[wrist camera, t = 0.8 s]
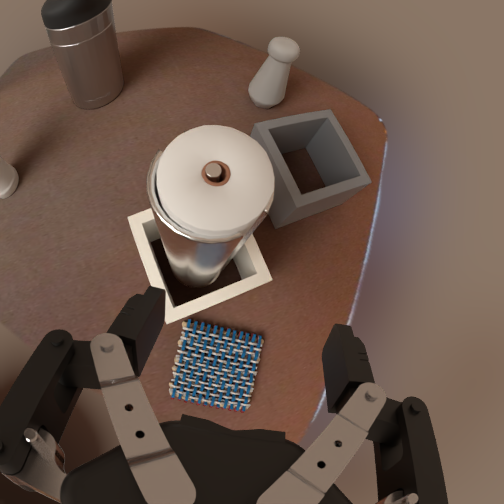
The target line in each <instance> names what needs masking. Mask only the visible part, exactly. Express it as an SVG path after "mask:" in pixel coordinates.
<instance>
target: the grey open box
mask: <svg viewBox="0 0 504 504" xmlns="http://www.w3.org/2000/svg"><path fill="white" fill-rule="evenodd" d="M250 137H251V138H253V139H254V140H256V141H257V142H258V143H259V144H260V145H261V147H262V148H263V149H264V150H265V151H266V153H267V155H268V157H269V159H270V162H271V164H272V168H273V172H274V177H275V179H274V181H275V190H274V199H273V202H272V205H271V207H270V210H269V212H268V214H269V216H270V219H271V221H272V223H273V225H274V228H275V229H277V228H280V227H282V226H285V225H288V224H290V223H293V222H295V221H298V220H301V219H303V218H306V217H309V216H311V215H314V214H317V213H319V212H322V211H325V210H327V209H330V208H333V207H335V206H338V205H341V204H343V203H344V202H345V201H347V200H348V199H349V198H351V197H352V196H353V195H355V194H356V193H357V192H359V191H360V190H362V189H363V188H364V187H366V186H367V185H368V184H370V183H371V180H370V178H369V176H368V174H367V172H366V170H365V168H364V166H363V164H362V163H361V161H360V159H359V157H358V155H357V153H356V152H355V150H354V148H353V146H352V144H351V143H350V141H349V139H348V137H347V136H346V134H345V132H344V131H343V129H342V127H341V126H340V124H339V122H338V121H337V119H336V117H335V116H334V114H333V113H332V111H331V109H329V110H322V111H316V112H310V113H304V114H298V115H293V116H288V117H283V118H278V119H273V120H268V121H263V122H259V123H255V124H254V127H253V130H252V132H251V135H250ZM303 148H306V150H307V152H308V154H309V156H310V157H311V159H312V161H313V163H314V165H315V167H316V169H317V171H318V173H319V175H320V177H321V179H322V181H323V183H324V185H325V187H324V188H321V189H318V190H315V191H312V192H309V193H306V194H303V195H301V193H300V191H299V189H298V187H297V185H296V183H295V181H294V179H293V176H292V174H291V172H290V170H289V168H288V167H287V165H286V163H285V161H284V159H283V157H282V155H281V154H283V153H287V152H291V151H295V150H299V149H303Z"/></svg>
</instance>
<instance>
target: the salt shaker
mask: <svg viewBox="0 0 504 504" xmlns="http://www.w3.org/2000/svg"><path fill="white" fill-rule="evenodd" d="M268 53H269V57H268V58H267V59H266V61H265V62H264V64H263V65H262V66H261V68H260V69H259V71H258V72H257V74H256V75H255V76H254V78H253V79H252V81H251V82H250V84H249V89H248V92H249V95H250V98H251V100H252V101H253V103H254V104H255V105H256V106H257V107H260V108H265V109H269V108H270V107H272V106H275V105H277V104H279V103H280V102H281V101H282V100H283V99H284V96H285V91H286V86H287V81H288V77H289V72H290V67H291V62H294V61H295V60H296V59H297V58H298V56H299V53H300V47H299V46H298V44H297V43H296V42H295V41H294V40H292V39H290V38H287V37H276V38H273V39H272V40H271V41H270V43H269V45H268Z"/></svg>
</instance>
